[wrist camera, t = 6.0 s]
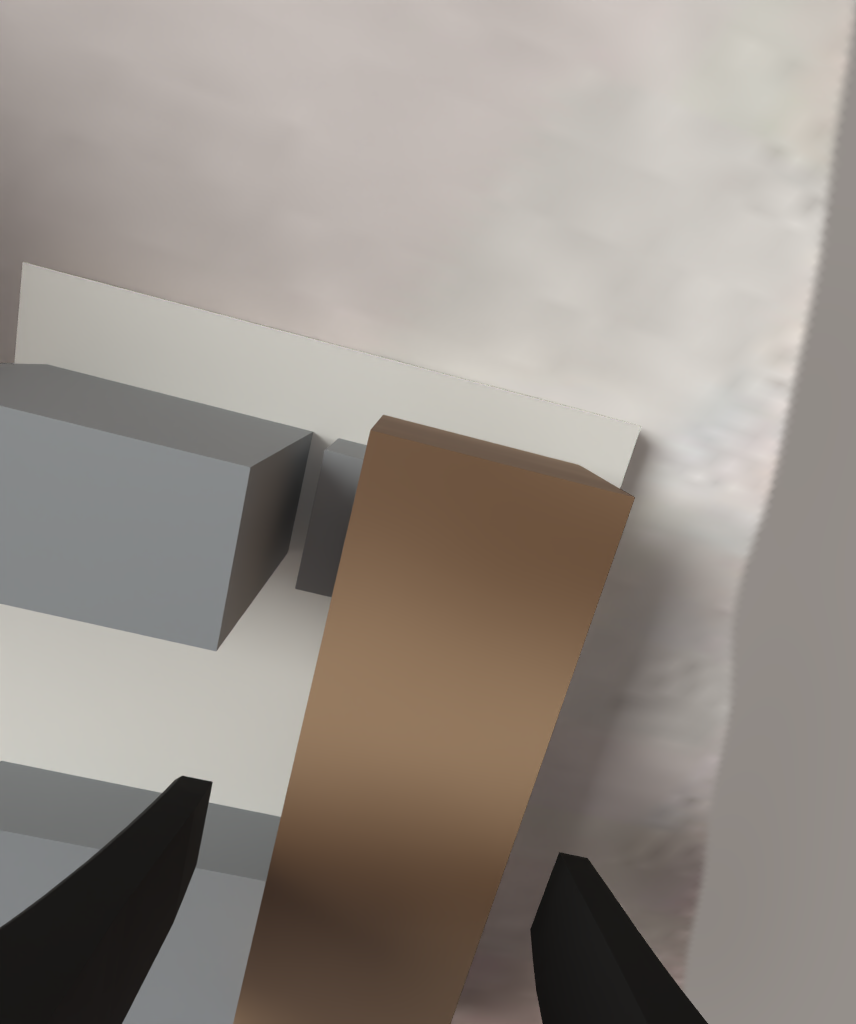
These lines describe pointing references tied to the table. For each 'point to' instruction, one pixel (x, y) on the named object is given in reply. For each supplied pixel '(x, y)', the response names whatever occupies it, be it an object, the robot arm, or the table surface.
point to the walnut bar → (425, 722)
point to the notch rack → (188, 581)
